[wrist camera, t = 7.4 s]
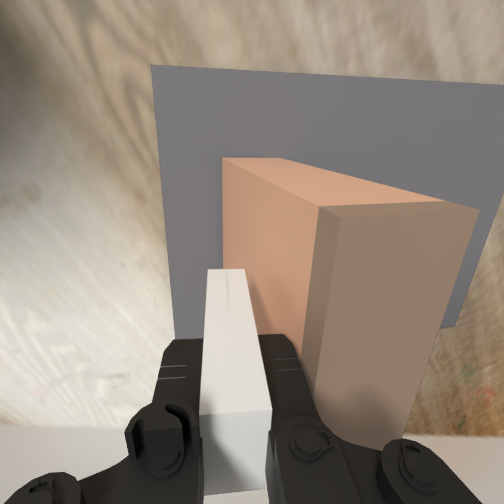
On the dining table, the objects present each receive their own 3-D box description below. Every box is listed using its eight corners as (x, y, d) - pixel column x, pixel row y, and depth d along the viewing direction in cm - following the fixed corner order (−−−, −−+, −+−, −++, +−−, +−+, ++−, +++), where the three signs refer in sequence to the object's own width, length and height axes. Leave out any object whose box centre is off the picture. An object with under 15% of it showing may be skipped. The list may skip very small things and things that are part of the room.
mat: (152, 66, 17) (150, 64, 17) (533, 88, 20) (542, 87, 20) (176, 336, 25) (175, 341, 25) (449, 322, 28) (454, 326, 28)
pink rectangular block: (222, 157, 19) (341, 217, 6) (280, 157, 20) (479, 209, 7) (223, 292, 22) (298, 493, 10) (271, 286, 24) (393, 462, 11)
